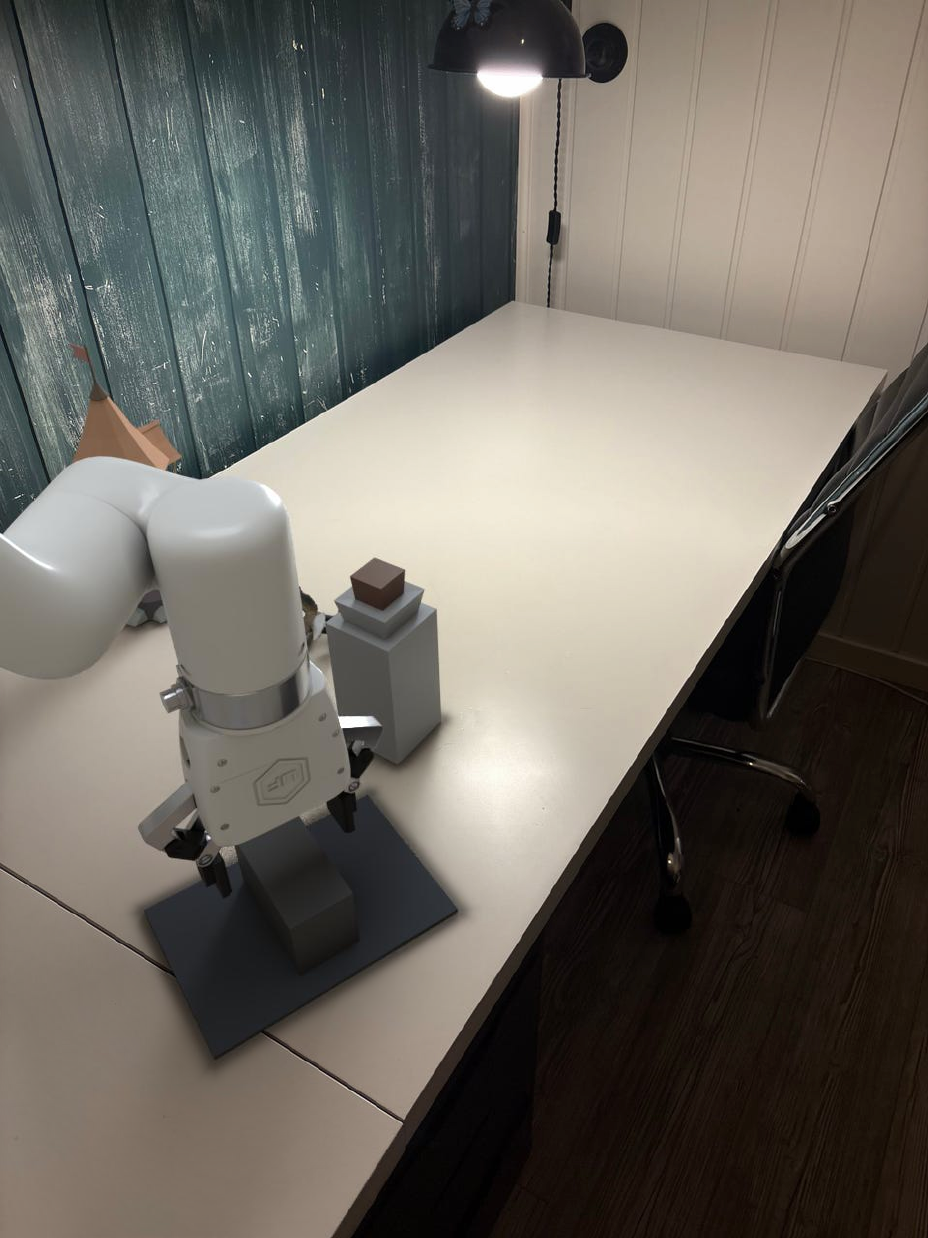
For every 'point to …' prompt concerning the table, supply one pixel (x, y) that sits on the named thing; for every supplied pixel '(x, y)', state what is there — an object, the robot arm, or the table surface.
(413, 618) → the perfume bottle
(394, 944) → the rubber mat
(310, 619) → the eagle figurine
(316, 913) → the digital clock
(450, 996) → the table surface
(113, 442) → the model tower
